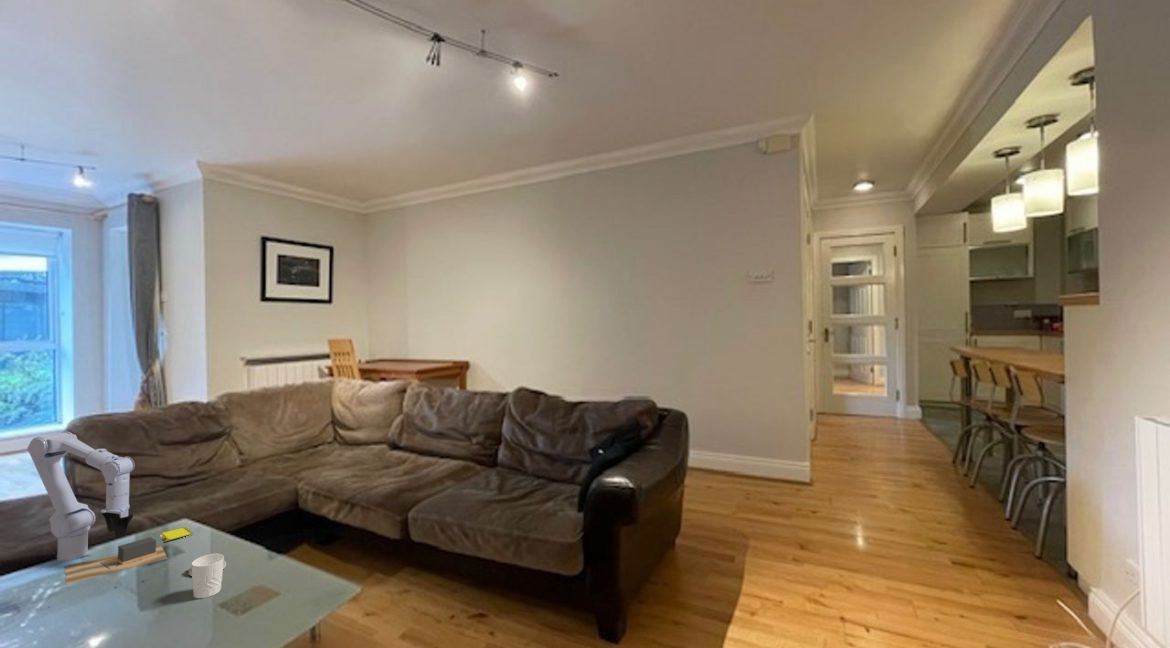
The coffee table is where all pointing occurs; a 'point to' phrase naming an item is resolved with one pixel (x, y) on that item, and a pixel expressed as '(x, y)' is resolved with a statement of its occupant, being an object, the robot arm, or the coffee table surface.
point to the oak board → (106, 566)
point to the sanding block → (136, 550)
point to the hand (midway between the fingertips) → (116, 533)
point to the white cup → (207, 575)
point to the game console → (175, 534)
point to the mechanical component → (206, 555)
